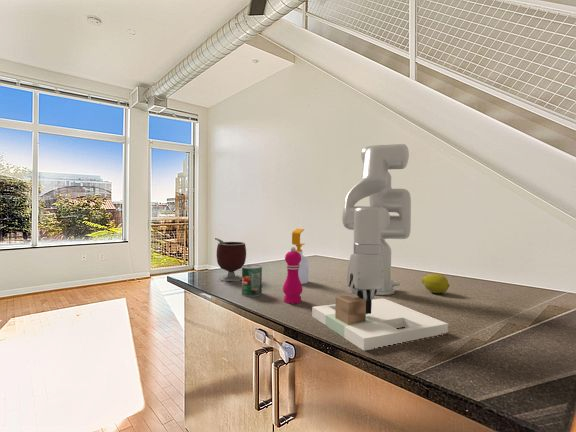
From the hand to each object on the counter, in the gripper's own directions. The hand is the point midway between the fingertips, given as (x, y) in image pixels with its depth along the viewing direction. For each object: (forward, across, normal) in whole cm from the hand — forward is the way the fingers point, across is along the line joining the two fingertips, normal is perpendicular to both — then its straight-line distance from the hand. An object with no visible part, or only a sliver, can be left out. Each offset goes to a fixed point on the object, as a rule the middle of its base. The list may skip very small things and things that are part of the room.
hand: (365, 312), depth 96 cm
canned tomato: (+4, +20, -46) cm, 51 cm away
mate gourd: (+4, +22, -75) cm, 79 cm away
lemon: (+4, -51, -21) cm, 55 cm away
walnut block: (+1, +6, +1) cm, 6 cm away
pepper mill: (+4, +9, -31) cm, 33 cm away
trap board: (+4, -4, 0) cm, 6 cm away
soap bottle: (+4, -6, -58) cm, 59 cm away
